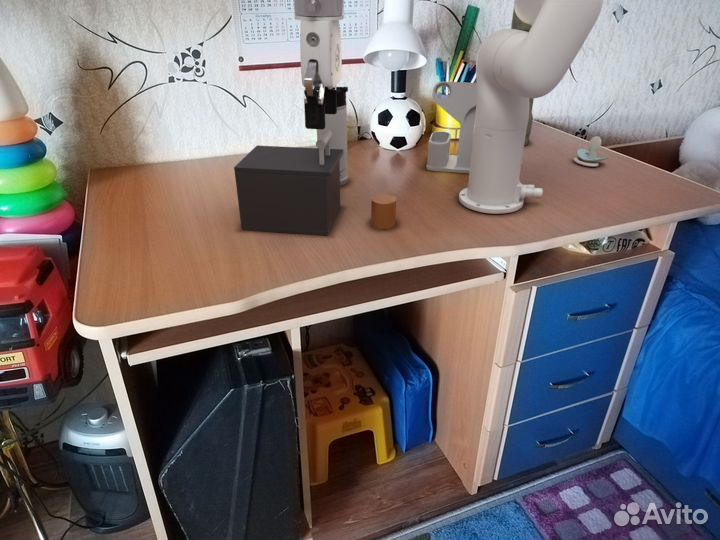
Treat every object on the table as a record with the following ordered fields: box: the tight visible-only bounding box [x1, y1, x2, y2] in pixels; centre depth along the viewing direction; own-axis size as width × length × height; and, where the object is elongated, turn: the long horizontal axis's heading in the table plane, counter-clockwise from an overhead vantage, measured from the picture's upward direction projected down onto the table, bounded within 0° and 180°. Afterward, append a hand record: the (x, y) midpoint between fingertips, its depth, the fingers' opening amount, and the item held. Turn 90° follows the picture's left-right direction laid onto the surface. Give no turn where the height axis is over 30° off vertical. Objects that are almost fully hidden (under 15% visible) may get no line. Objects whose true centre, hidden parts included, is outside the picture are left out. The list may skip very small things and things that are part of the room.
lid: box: [233, 130, 344, 177], centre depth 94 cm, size 17×12×5 cm
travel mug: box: [316, 86, 349, 187], centre depth 112 cm, size 6×7×20 cm
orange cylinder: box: [370, 193, 397, 230], centre depth 98 cm, size 4×4×5 cm
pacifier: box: [573, 135, 609, 168], centre depth 126 cm, size 7×6×6 cm
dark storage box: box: [234, 161, 341, 237], centre depth 99 cm, size 16×12×11 cm
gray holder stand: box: [425, 81, 477, 174], centre depth 122 cm, size 17×10×18 cm, turn 76°
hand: (321, 120), depth 91 cm, fingers open, 9 cm apart
